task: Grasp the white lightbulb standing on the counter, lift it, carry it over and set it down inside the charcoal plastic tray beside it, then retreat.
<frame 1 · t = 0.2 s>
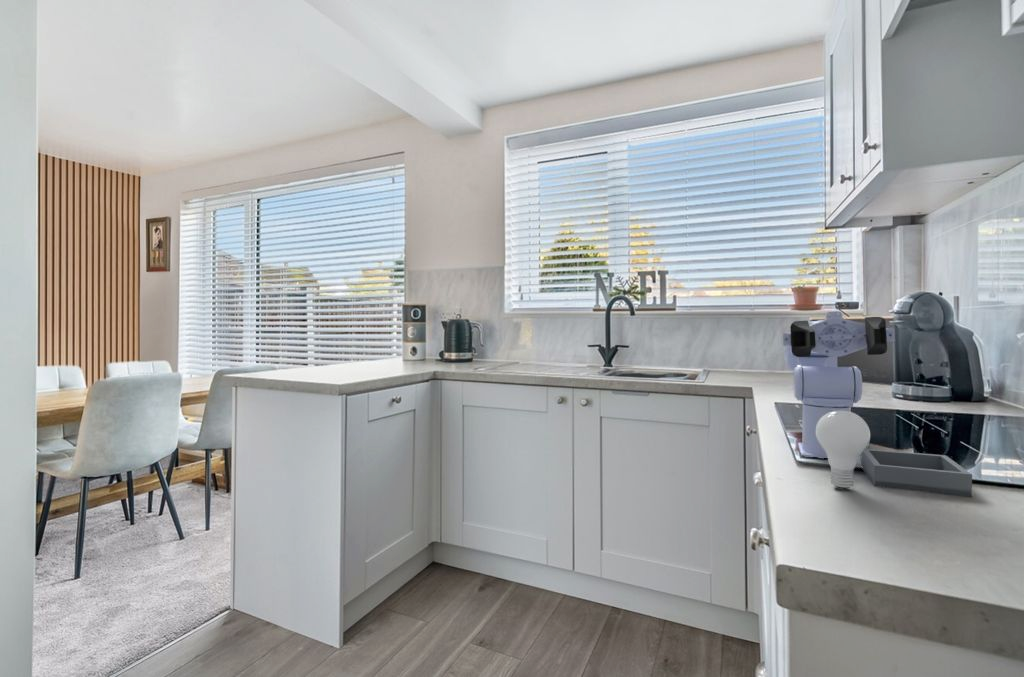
hand: (844, 337, 71), 21 cm above the countertop, tool horizontal, fingers open, 7 cm apart
lightbulb: (842, 490, 70), on the countertop
tray: (911, 480, 74), on the countertop
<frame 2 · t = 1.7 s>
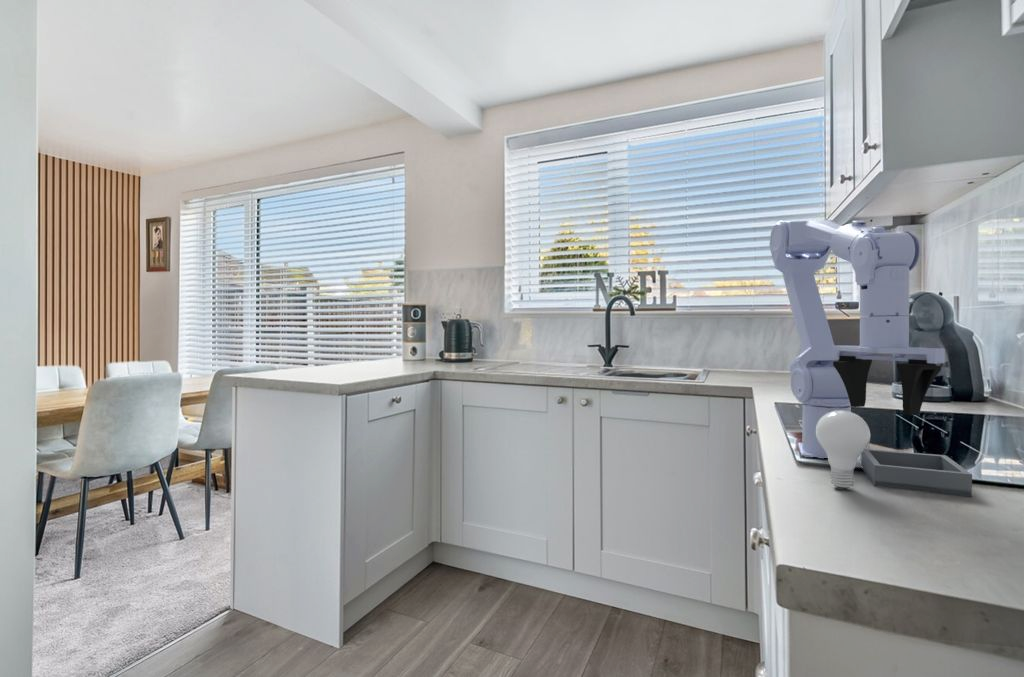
hand: (883, 410, 73), 10 cm above the countertop, tool pointing down, fingers open, 7 cm apart
nothing on the countertop moved.
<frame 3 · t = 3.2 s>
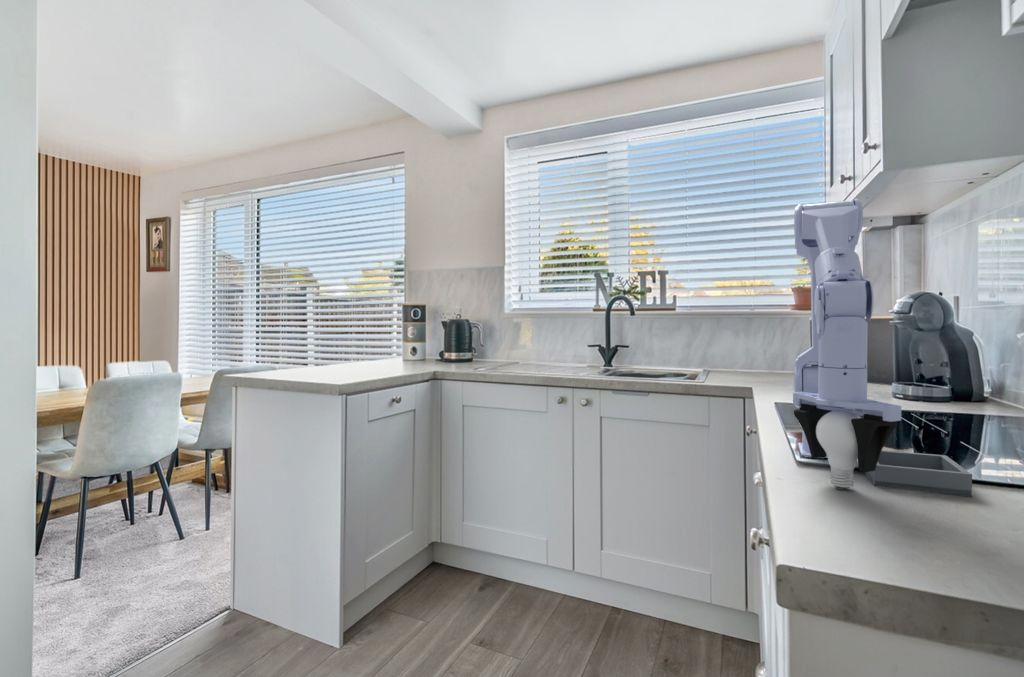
hand: (841, 463, 71), 3 cm above the countertop, tool pointing down, fingers open, 7 cm apart
lightbulb: (842, 490, 70), on the countertop, touching gripper
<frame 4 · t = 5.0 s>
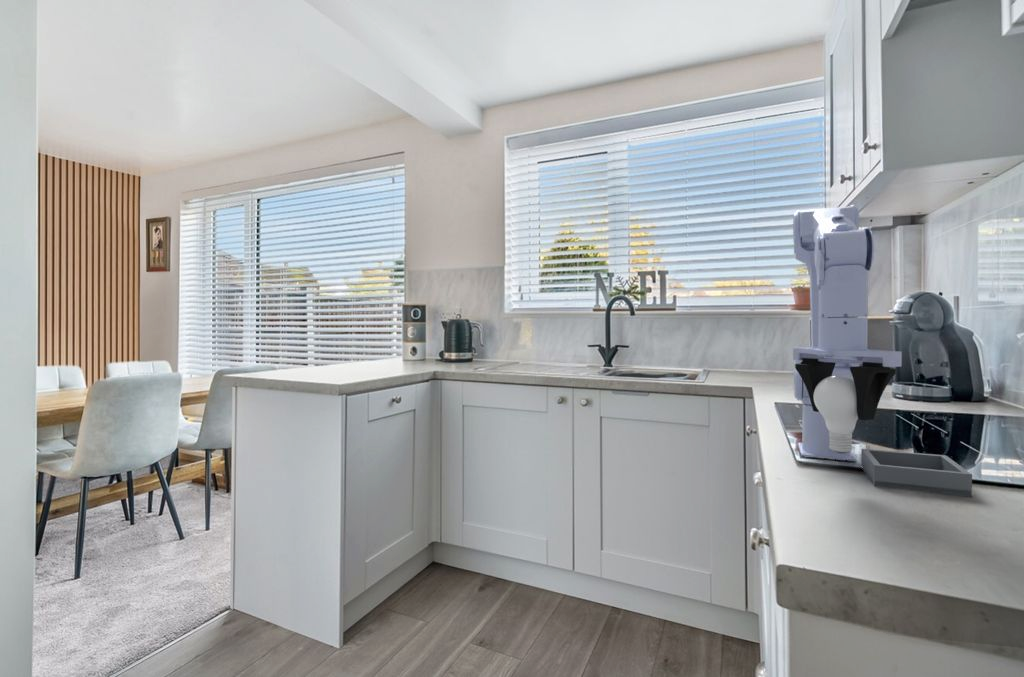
hand: (842, 415, 71), 10 cm above the countertop, tool pointing down, fingers closed on lightbulb, 6 cm apart
lightbulb: (840, 454, 71), point 5 cm above the countertop, touching gripper
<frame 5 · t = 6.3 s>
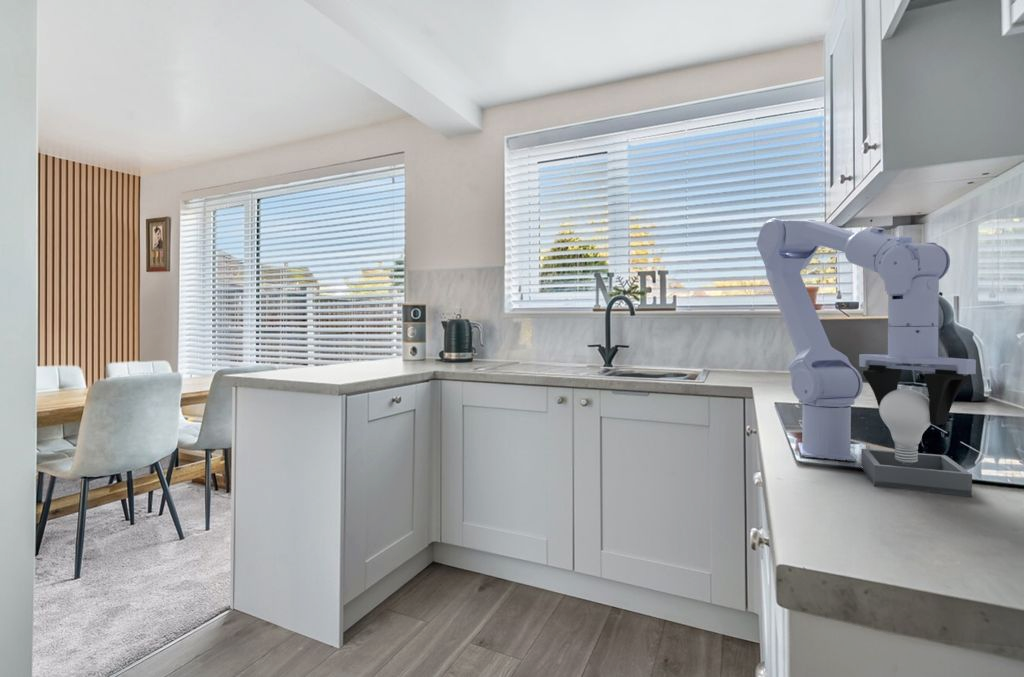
hand: (911, 419, 73), 9 cm above the countertop, tool pointing down, fingers closed on lightbulb, 6 cm apart
lightbulb: (906, 465, 74), point 2 cm above the countertop, touching gripper
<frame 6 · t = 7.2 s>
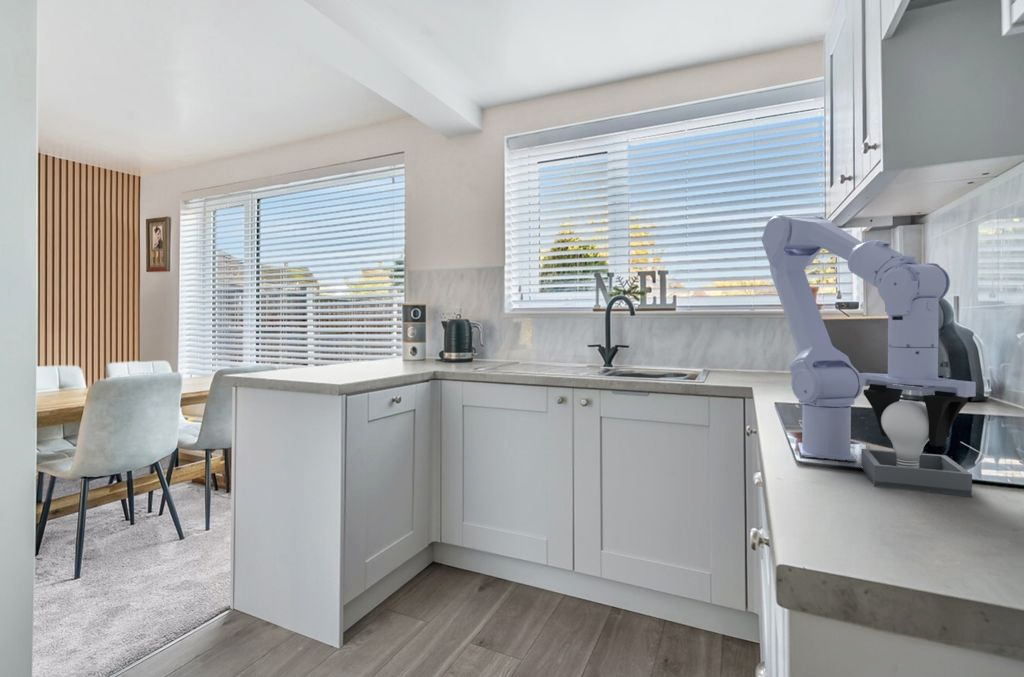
hand: (911, 440, 74), 6 cm above the countertop, tool pointing down, fingers closed on lightbulb, 6 cm apart
lightbulb: (907, 477, 73), point 1 cm above the countertop, touching gripper, tray
when the fingers open (6 cm above the countertop, at t = 7.6 s): lightbulb stays where it is, resting on tray.
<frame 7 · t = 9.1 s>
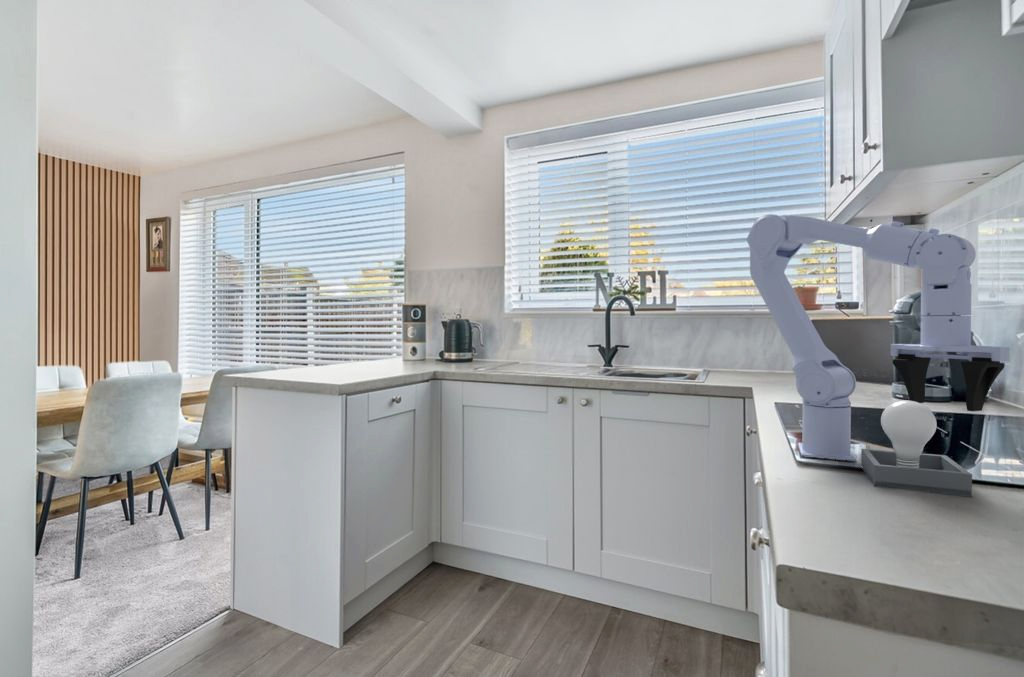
hand: (944, 406, 76), 10 cm above the countertop, tool pointing down, fingers open, 7 cm apart
lightbulb: (907, 477, 73), point 1 cm above the countertop, touching tray
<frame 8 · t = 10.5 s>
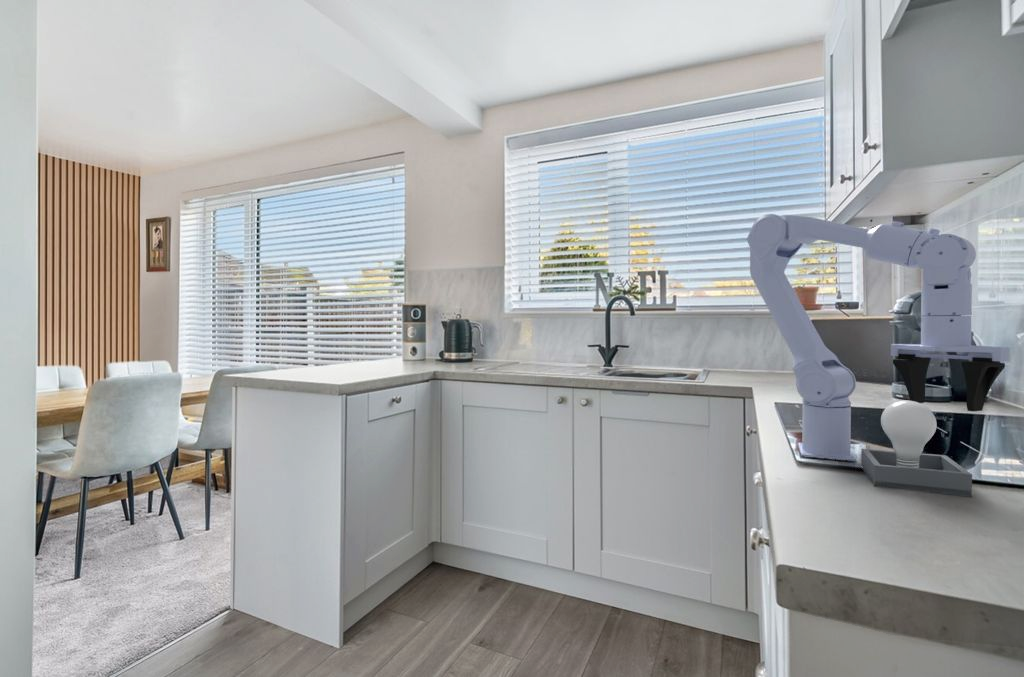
hand: (944, 406, 76), 10 cm above the countertop, tool pointing down, fingers open, 7 cm apart
nothing on the countertop moved.
at the end: lightbulb inside the target area on the tray (0.8 cm from its centre), point 0.6 cm above the tray's base; the gripper is holding nothing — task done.
